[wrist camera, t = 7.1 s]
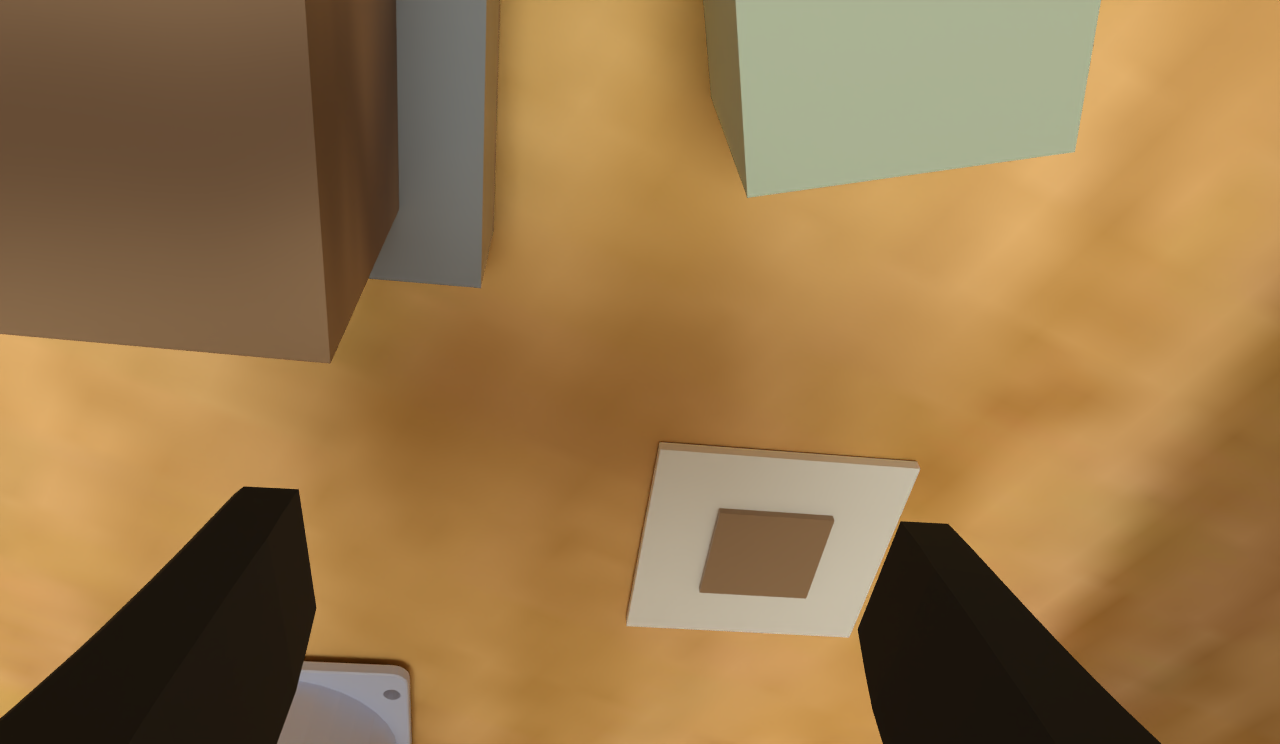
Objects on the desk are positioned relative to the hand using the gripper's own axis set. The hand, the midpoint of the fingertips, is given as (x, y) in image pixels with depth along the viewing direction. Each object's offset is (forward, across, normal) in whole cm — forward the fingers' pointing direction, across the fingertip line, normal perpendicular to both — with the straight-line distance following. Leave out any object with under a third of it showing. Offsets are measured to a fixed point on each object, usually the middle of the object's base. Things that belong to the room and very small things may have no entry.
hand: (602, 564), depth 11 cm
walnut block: (+7, +6, -4) cm, 10 cm away
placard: (+10, -6, +10) cm, 15 cm away
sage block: (+10, -4, -6) cm, 12 cm away
